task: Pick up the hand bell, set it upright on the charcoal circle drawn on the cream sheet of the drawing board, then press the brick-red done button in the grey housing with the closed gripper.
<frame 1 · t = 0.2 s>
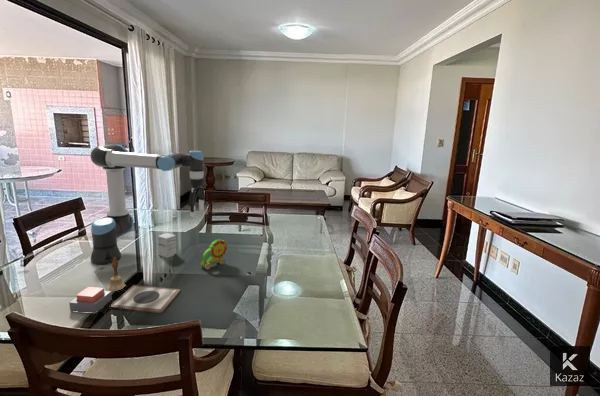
hand: (197, 213, 189), 28 cm above the table, fingers open, 13 cm apart
supplement box: (167, 255, 197), on the table
done button: (90, 294, 141), point 6 cm above the table, slide at 0.0 cm
toy lion: (214, 265, 188), on the table
drawing board: (146, 299, 150), on the table
button housing: (91, 305, 142), on the table
hand bell: (116, 288, 157), on the table
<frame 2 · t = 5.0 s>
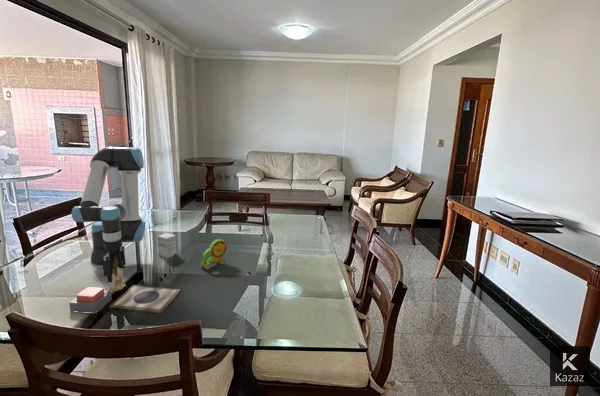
hand: (116, 283, 157), 2 cm above the table, fingers closed on hand bell, 6 cm apart
hand bell: (116, 288, 157), on the table, touching gripper
everything else where it was.
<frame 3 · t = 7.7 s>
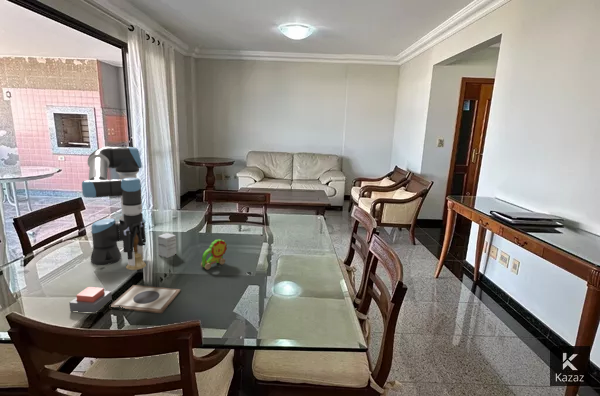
hand: (136, 261, 147), 18 cm above the table, fingers closed on hand bell, 6 cm apart
hand bell: (136, 266, 147), point 15 cm above the table, touching gripper
everything else where it was.
when the fingers open (4 cm above the table, at t = 10.8 s): hand bell drops 1 cm, resting on drawing board.
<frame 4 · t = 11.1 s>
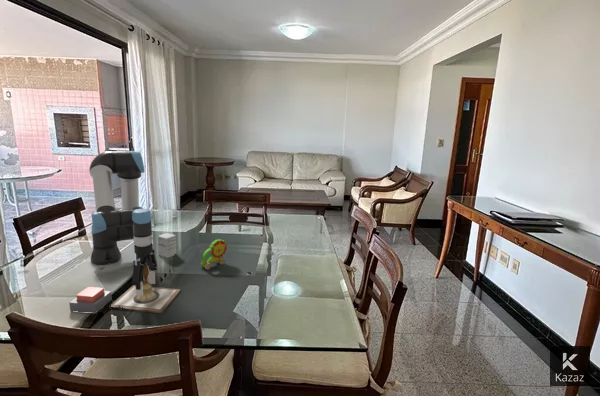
hand: (146, 288, 148), 5 cm above the table, fingers open, 10 cm apart
hand bell: (146, 297, 149), point 1 cm above the table, touching drawing board
everything else where it was.
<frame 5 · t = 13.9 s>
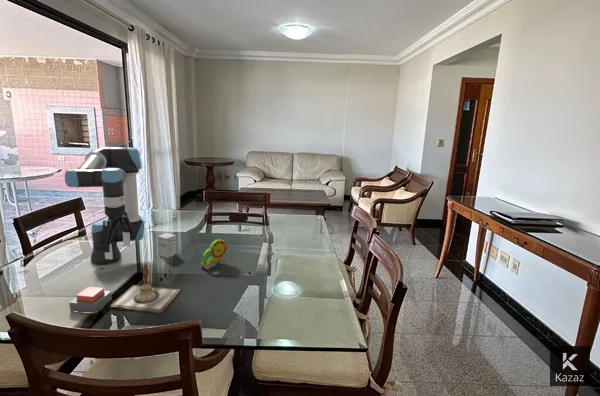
hand: (118, 252, 141), 24 cm above the table, fingers open, 13 cm apart
nothing on the table moved.
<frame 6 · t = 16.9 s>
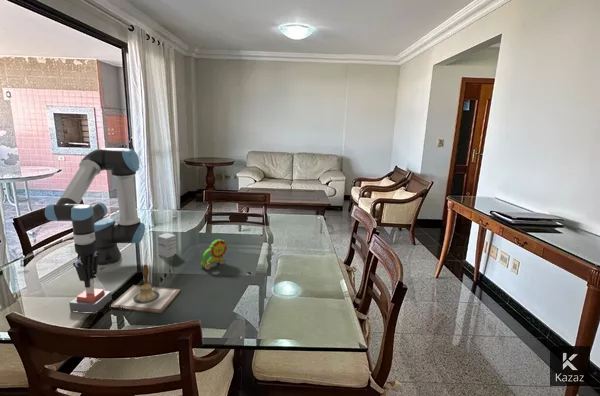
hand: (90, 292, 140), 7 cm above the table, fingers closed
done button: (90, 296, 141), point 5 cm above the table, slide at 0.7 cm, touching gripper
everything else where it was.
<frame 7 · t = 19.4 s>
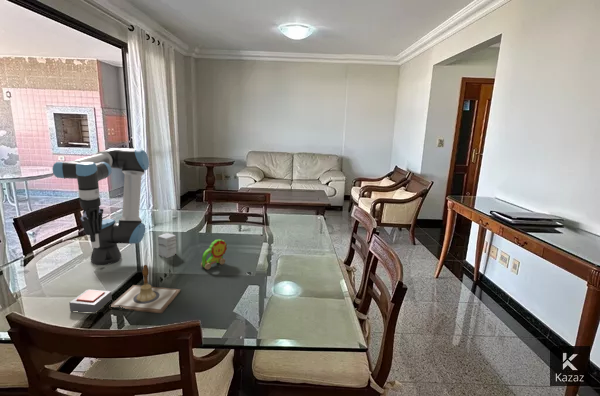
hand: (95, 247, 148), 23 cm above the table, fingers closed
done button: (91, 298, 141), point 4 cm above the table, slide at 1.9 cm
everything else where it was.
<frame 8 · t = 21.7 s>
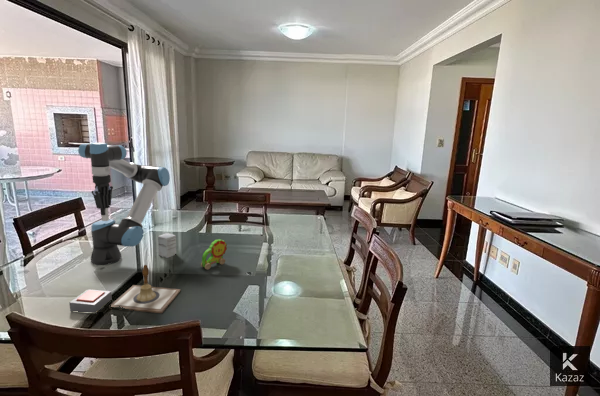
hand: (105, 220, 164), 29 cm above the table, fingers closed
nothing on the table moved.
at the end: hand bell inside the target area on the drawing board (0.1 cm from its centre), point 0.9 cm above the drawing board's base; hand bell tilted 0°; done button slide at 1.9 cm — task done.
